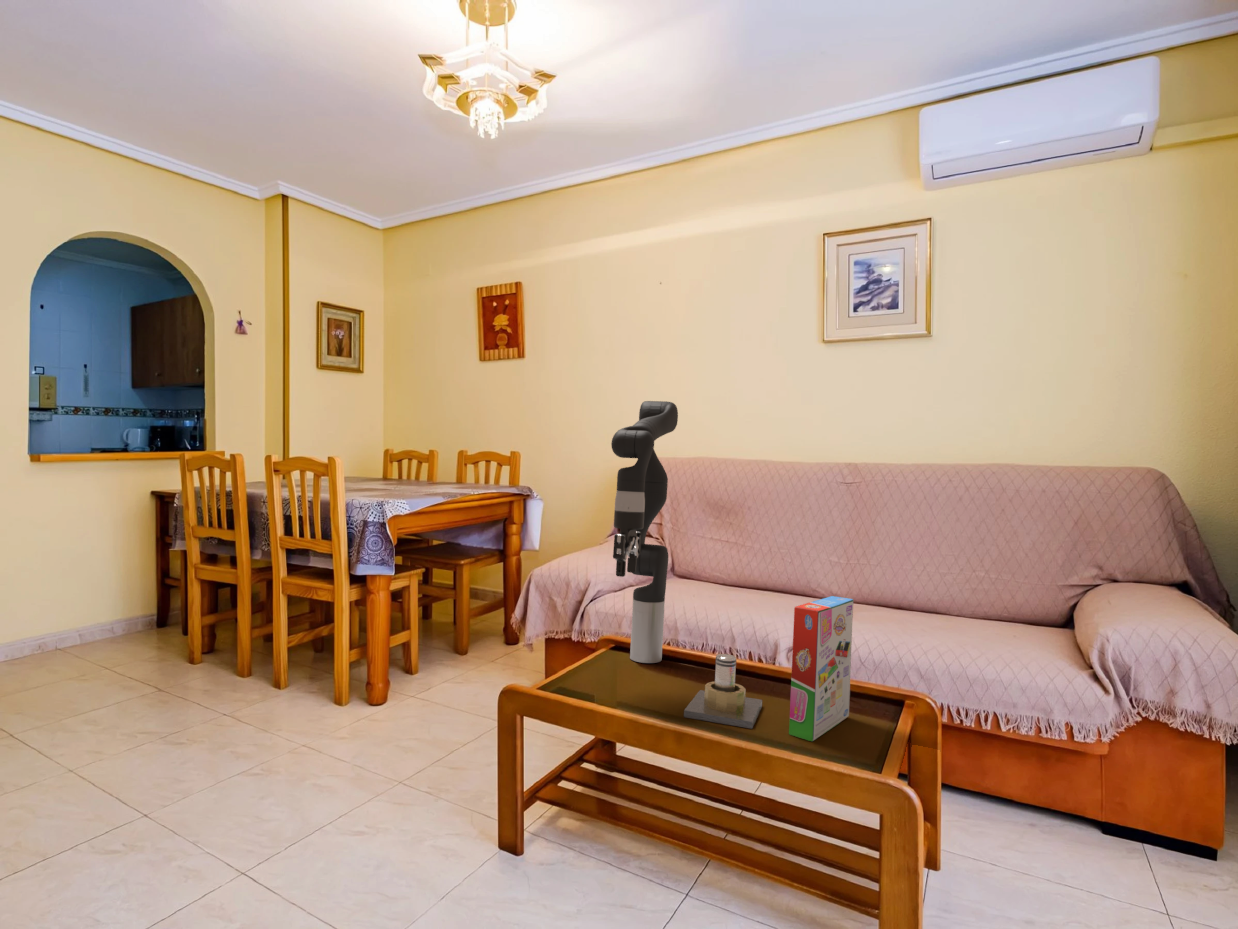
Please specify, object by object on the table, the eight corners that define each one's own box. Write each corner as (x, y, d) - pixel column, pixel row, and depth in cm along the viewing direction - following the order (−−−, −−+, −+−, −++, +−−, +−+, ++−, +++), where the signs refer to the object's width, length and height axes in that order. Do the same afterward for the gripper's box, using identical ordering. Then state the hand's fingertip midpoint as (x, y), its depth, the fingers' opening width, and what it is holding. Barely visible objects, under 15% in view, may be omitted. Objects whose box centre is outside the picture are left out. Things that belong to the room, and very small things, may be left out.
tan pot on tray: (699, 696, 163) (700, 673, 163) (761, 706, 158) (763, 682, 158) (683, 717, 147) (685, 692, 148) (752, 729, 142) (753, 703, 143)
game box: (826, 711, 156) (831, 595, 157) (849, 718, 153) (855, 599, 153) (787, 735, 140) (793, 605, 141) (812, 742, 137) (818, 609, 137)
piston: (715, 700, 155) (717, 652, 156) (735, 703, 154) (738, 655, 154) (711, 706, 151) (714, 657, 151) (732, 709, 149) (734, 660, 150)
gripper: (634, 511, 159) (631, 579, 159) (652, 509, 173) (648, 572, 172) (605, 509, 162) (602, 576, 161) (624, 508, 175) (621, 569, 175)
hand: (626, 574), depth 167 cm, fingers open, 8 cm apart
